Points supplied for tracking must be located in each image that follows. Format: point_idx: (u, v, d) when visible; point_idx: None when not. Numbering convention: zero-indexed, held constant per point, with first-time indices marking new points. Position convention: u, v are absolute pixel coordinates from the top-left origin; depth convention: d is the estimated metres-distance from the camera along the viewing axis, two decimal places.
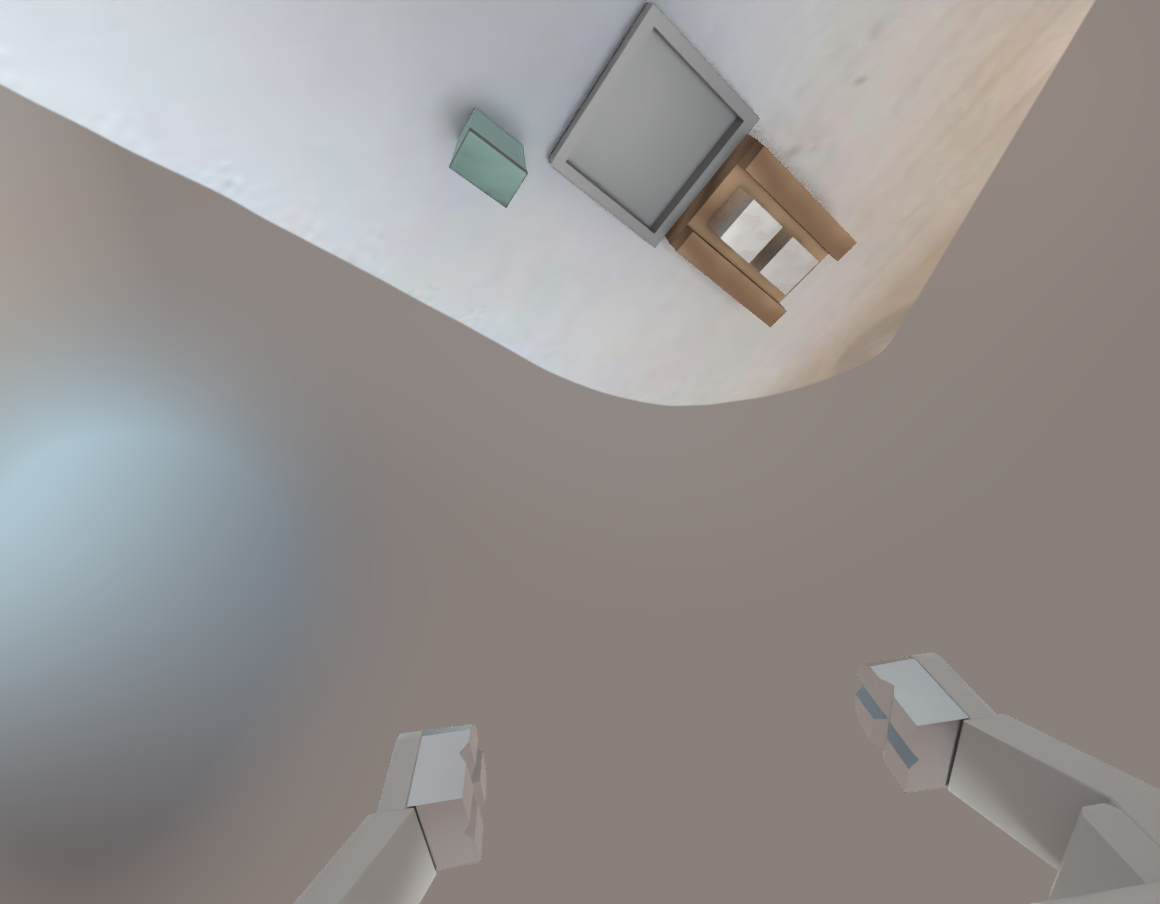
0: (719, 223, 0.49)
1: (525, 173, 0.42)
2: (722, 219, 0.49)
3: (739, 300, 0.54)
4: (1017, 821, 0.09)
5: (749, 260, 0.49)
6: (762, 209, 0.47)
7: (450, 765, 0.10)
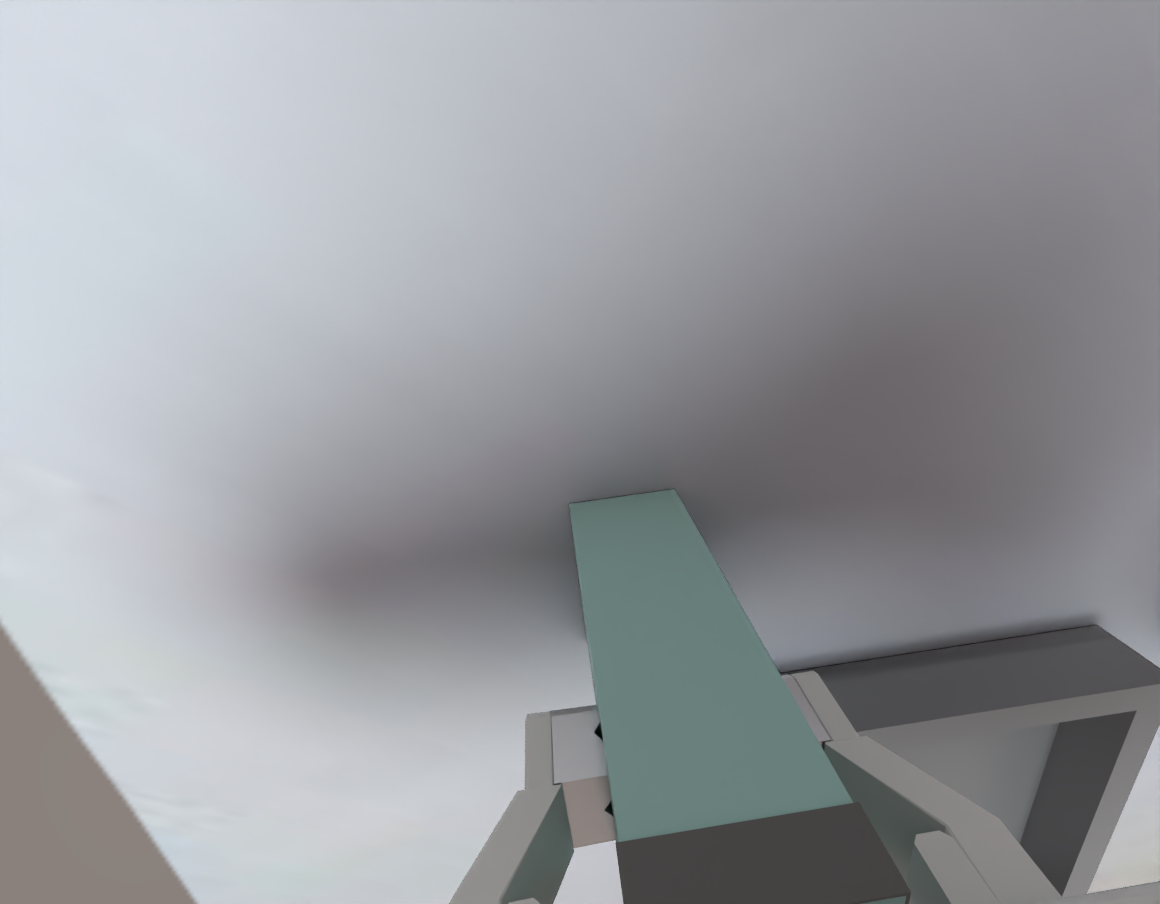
0: None
1: None
2: None
3: None
4: None
5: None
6: None
7: (587, 744, 0.10)
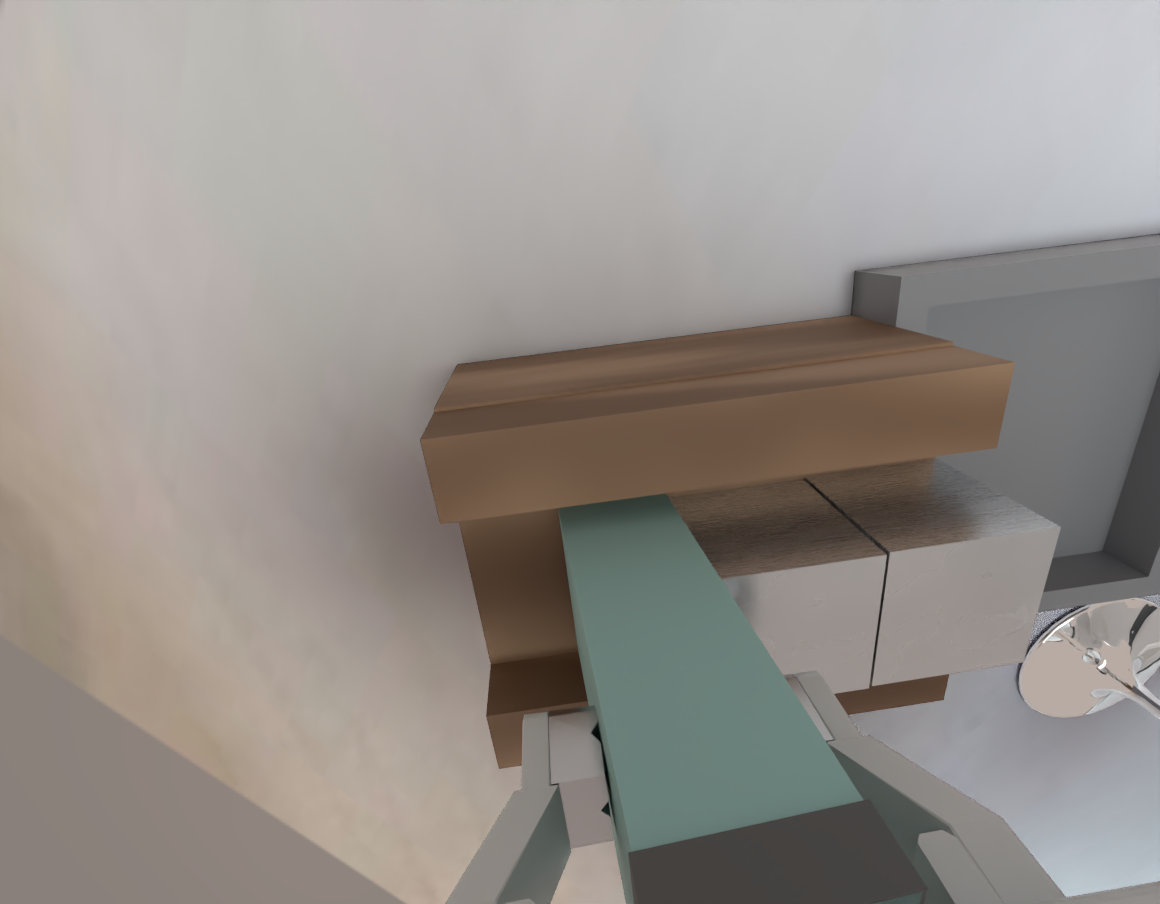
0: None
1: None
2: None
3: (644, 416, 0.12)
4: None
5: (897, 558, 0.12)
6: (977, 666, 0.14)
7: (584, 744, 0.10)
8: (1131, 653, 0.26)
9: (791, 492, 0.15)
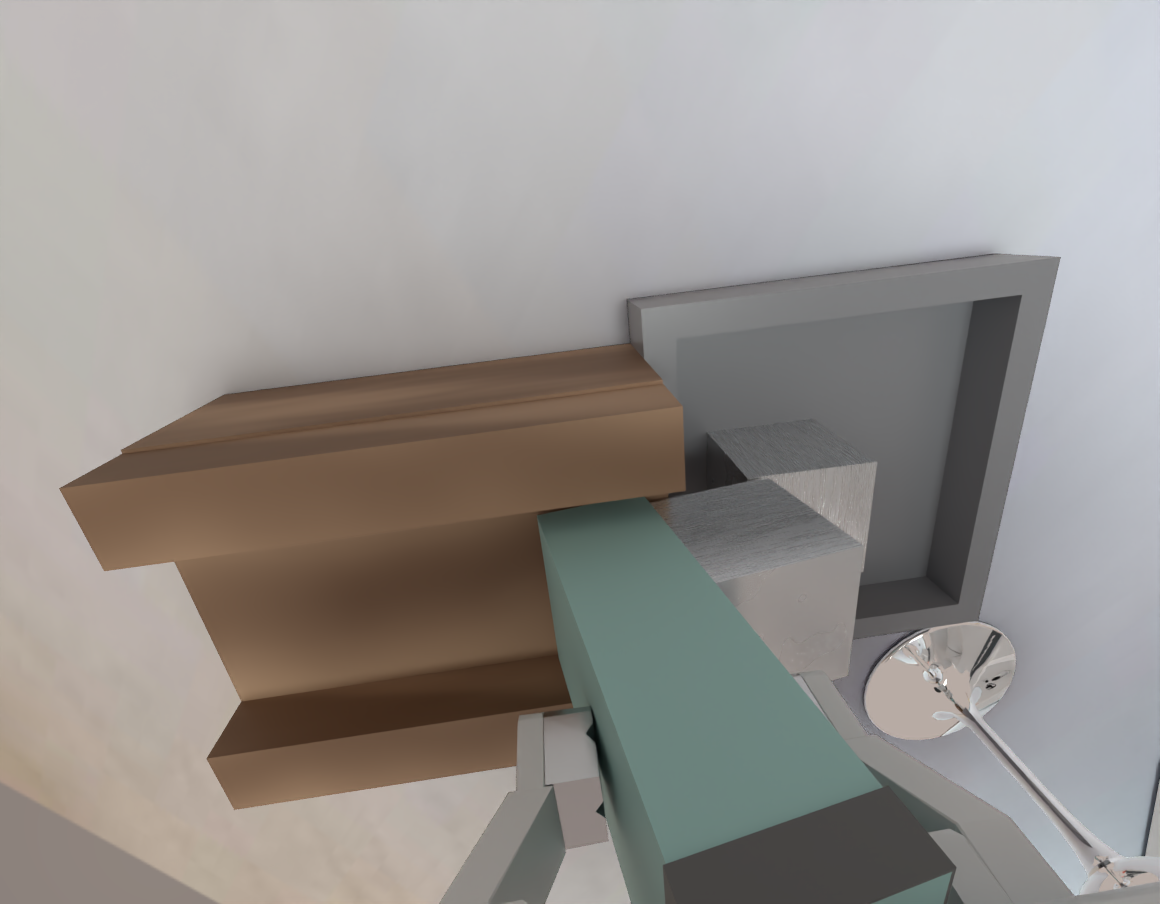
0: None
1: None
2: None
3: (296, 462, 0.12)
4: None
5: None
6: None
7: (580, 745, 0.10)
8: (970, 677, 0.25)
9: (760, 491, 0.15)
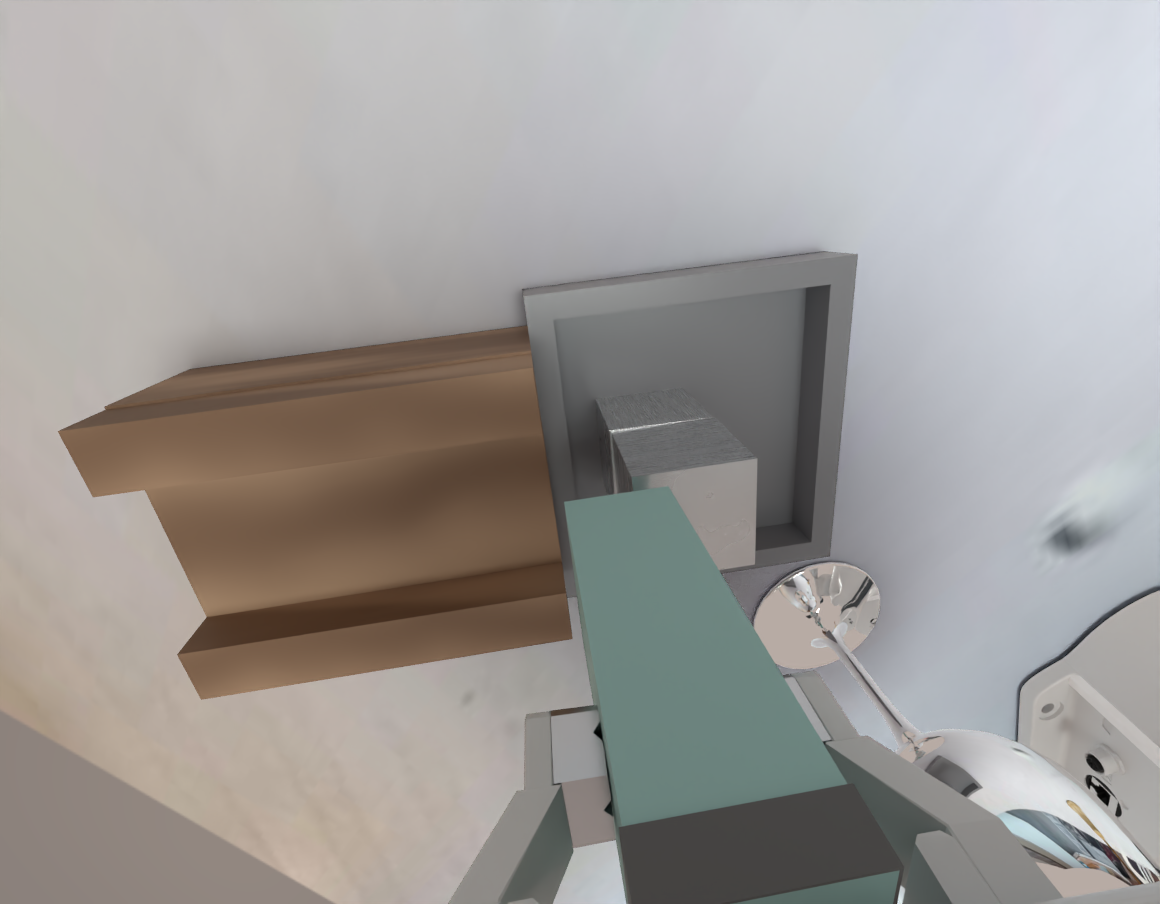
0: None
1: None
2: None
3: (239, 411, 0.16)
4: None
5: None
6: None
7: (587, 744, 0.10)
8: (838, 610, 0.30)
9: (703, 425, 0.20)
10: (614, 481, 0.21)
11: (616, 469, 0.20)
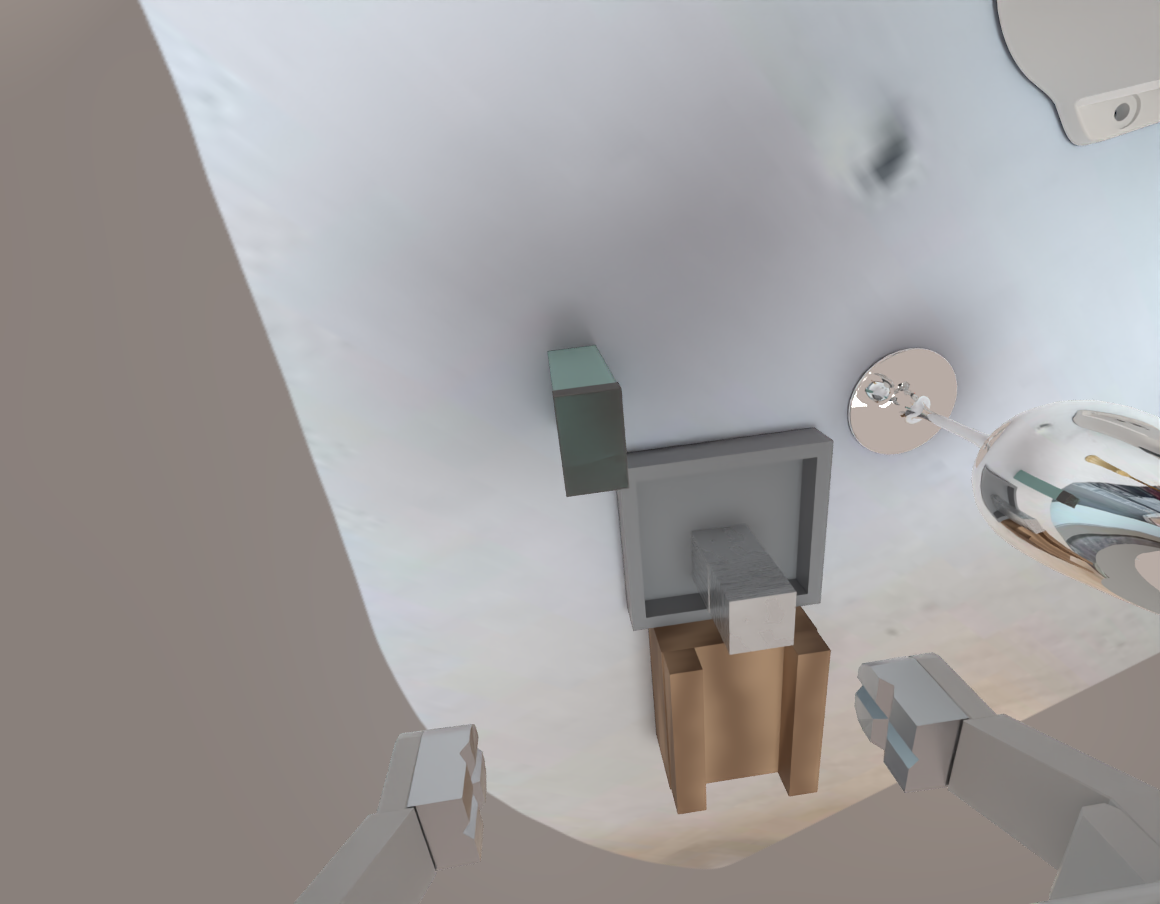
0: None
1: (627, 485, 0.26)
2: None
3: (677, 767, 0.38)
4: (1017, 821, 0.09)
5: (710, 561, 0.35)
6: (750, 533, 0.38)
7: (450, 765, 0.10)
8: (896, 397, 0.35)
9: (711, 577, 0.34)
10: None
11: None
